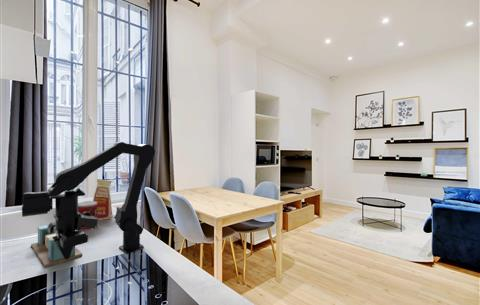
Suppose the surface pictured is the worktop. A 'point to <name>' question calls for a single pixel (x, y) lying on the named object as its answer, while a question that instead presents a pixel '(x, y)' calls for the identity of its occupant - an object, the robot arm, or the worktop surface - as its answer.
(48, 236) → the wooden block
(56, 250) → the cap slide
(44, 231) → the cap fixed
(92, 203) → the canned food
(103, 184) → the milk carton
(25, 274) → the worktop surface
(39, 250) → the board
